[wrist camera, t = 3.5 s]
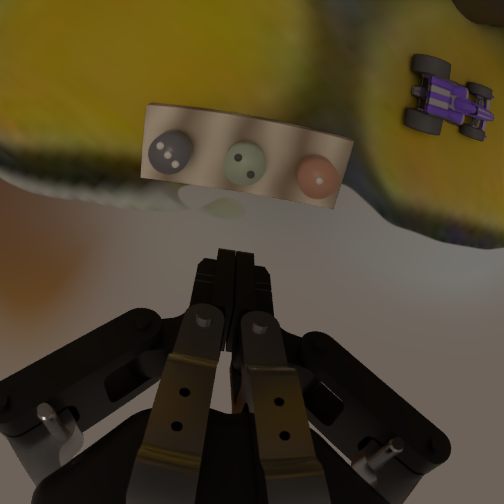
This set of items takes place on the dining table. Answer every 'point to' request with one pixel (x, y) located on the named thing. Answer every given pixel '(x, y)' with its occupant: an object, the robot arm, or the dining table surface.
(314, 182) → the button
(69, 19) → the dining table surface
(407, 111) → the toy race car
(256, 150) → the button
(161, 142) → the button
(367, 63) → the dining table surface
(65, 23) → the dining table surface
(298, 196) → the button board
